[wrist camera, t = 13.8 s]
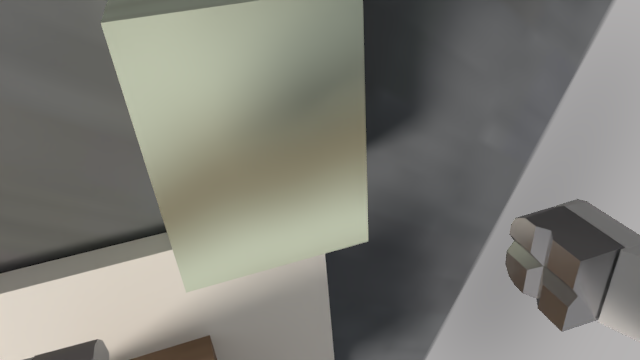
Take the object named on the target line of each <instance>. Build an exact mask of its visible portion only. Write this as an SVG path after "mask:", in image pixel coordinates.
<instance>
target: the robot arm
mask: <svg viewBox="0 0 640 360" xmlns="http://www.w3.org/2000/svg"><path fill="white" fill-rule="evenodd" d="M510 235H511V237H512V238H513V240H514V242H513V243H512V245H511V246H510V247H509V249H508V250H507V254H506V267H507V271H508V274H509V277H510V278H511V280H512V281H513V283H514V285H515V286H516V287H517V288H518V289H519V290H520V291H521V292H522V293H524V294H526V295H529V296H531V297H534V298H537V305H538V309H539V310H540V311H542V313H543V314H544V315H545V316H546V317H547V318H548V319H549V320H550V321H551V322H552V323H554V324H555V325H556V326H557V327H558V328H559V329H560V330H561V331H565V330H569V329H572V328H574V327H578V326H581V325H584V324H587V323H590V322H593V321H596V320H598V322H599V323H601V324H603V325H605V326H607V327H609V328H611V329H613V330H616V331H617V332H619V333H621V334H624V335H626V336H628V337H630V338H632V339H634V340H636V341H638V342H640V235H639V234H637V233H636V232H634V231H632V230H631V229H629V228H628V227H626V226H624V225H623V224H621V223H619V222H618V221H617V220H615V219H613V218H612V217H610V216H609V215H607V214H606V213H604V212H602V211H601V210H599V209H598V208H596V207H595V206H593V205H591V204H590V203H588V202H587V201H583V200H579V199H577V200H573V201H570V202H567V203H564V204H560V205H557V206H556V207H551V208H548V209H544V210H541V211H538V212H534V213H531V214H528V215H524V216H521V217H518V218H515V220H514V221H513V223H512V224H511V229H510ZM24 360H109V351H108V349H107V348H106V346H105V344H104V342H103V340H100V339H96V340H92V341H88V342H85V343H81V344H77V345H73V346H70V347H66V348H62V349H58V350H55V351H51V352H47V353H43V354H39V355H36V356H34V357H31V358H27V359H24Z"/></svg>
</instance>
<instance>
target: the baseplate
mask: <svg viewBox="0 0 640 360" xmlns="http://www.w3.org/2000/svg"><path fill="white" fill-rule="evenodd" d="M208 335H210V337H211V340H212V344H213V347H214V350H215V354H216V357H217V360H334V349H333V337H332V326H331V315H330V304H329V293H328V281H327V270H326V259H325V254H322V255H318V256H315V257H311V258H308V259H304V260H300V261H297V262H293V263H290V264H286V265H283V266H279V267H276V268H272V269H268V270H265V271H261V272H258V273H254V274H251V275H247V276H244V277H240V278H236V279H233V280H229V281H226V282H222V283H219V284H215V285H212V286H208V287H204V288H201V289H197V290H194V291H190V292H187V293H186V290H185V287H184V284H183V281H182V278H181V275H180V272H179V268H178V265H177V262H176V259H175V256H174V253H173V249H172V246H171V243H170V240H169V237H168V234H167V232H166V233H162V234H158V235H154V236H149V237H145V238H141V239H137V240H133V241H129V242H125V243H121V244H117V245H113V246H109V247H105V248H101V249H97V250H93V251H89V252H85V253H81V254H77V255H73V256H69V257H65V258H61V259H57V260H53V261H49V262H45V263H41V264H37V265H33V266H29V267H25V268H21V269H17V270H13V271H9V272H5V273H0V360H24V359H27V358H31V357H34V356H36V355H39V354H43V353H47V352H51V351H55V350H58V349H62V348H66V347H70V346H73V345H77V344H81V343H85V342H88V341H92V340H96V339H100V340H103V342H104V344H105V346H106V348H107V349H108V351H109V360H130V359H133V358H136V357H140V356H143V355H146V354H149V353H153V352H156V351H159V350H163V349H166V348H169V347H172V346H176V345H179V344H182V343H186V342H189V341H192V340H195V339H199V338H202V337H205V336H208Z"/></svg>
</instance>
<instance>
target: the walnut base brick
mask: <svg viewBox="0 0 640 360" xmlns="http://www.w3.org/2000/svg"><path fill="white" fill-rule="evenodd" d="M130 360H217V357H216V354H215V350H214V347H213V344H212V340H211V337H210V335H208V336H205V337H202V338H199V339H195V340H192V341H189V342H186V343H182V344H179V345H176V346H172V347H169V348H166V349H163V350H159V351H156V352H153V353H149V354H146V355H143V356H140V357H136V358H133V359H130Z"/></svg>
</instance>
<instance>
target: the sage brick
mask: <svg viewBox="0 0 640 360" xmlns="http://www.w3.org/2000/svg"><path fill="white" fill-rule="evenodd" d="M101 25H102V29H103V32H104V35H105V38H106V41H107V44H108V47H109V51H110V54H111V57H112V60H113V63H114V66H115V70H116V73H117V76H118V79H119V82H120V85H121V89H122V92H123V95H124V98H125V101H126V104H127V107H128V111H129V114H130V117H131V120H132V123H133V126H134V130H135V133H136V136H137V139H138V142H139V145H140V148H141V152H142V155H143V158H144V161H145V164H146V167H147V171H148V174H149V177H150V180H151V183H152V186H153V189H154V193H155V196H156V199H157V202H158V205H159V208H160V212H161V215H162V218H163V221H164V224H165V227H166V230H167V234H168V237H169V240H170V243H171V246H172V249H173V253H174V256H175V259H176V262H177V265H178V268H179V272H180V275H181V278H182V281H183V284H184V287H185V290H186V293H187V292H190V291H194V290H197V289H201V288H204V287H208V286H212V285H215V284H219V283H222V282H226V281H229V280H233V279H236V278H240V277H244V276H247V275H251V274H254V273H258V272H261V271H265V270H268V269H272V268H276V267H279V266H283V265H286V264H290V263H293V262H297V261H300V260H304V259H308V258H311V257H315V256H318V255H322V254H325V253H329V252H332V251H336V250H339V249H343V248H347V247H350V246H354V245H357V244H361V243H364V242H368V203H367V159H366V114H365V69H364V25H363V0H108V1H107V4H106V8H105V11H104V14H103V17H102V20H101Z"/></svg>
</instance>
